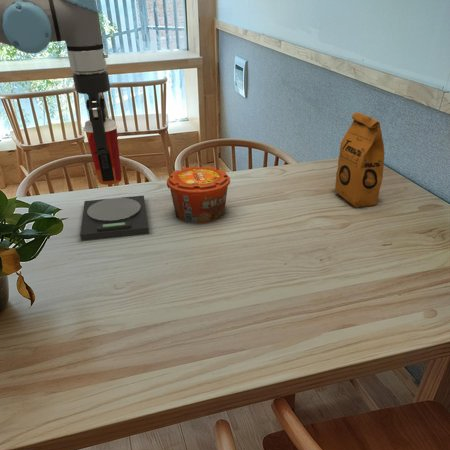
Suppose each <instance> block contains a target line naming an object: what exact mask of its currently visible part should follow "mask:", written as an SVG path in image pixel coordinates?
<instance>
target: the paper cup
mask: <svg viewBox="0 0 450 450" xmlns="http://www.w3.org/2000/svg"><path fill="white" fill-rule="evenodd" d="M104 127H105V133H106V138H107V144H108V150H109V152H110V157H111V163H112V169H113V174H114V181H103V180H102V174H101V169H100V164H99V159H98V155H95V154H94V152H96V145H95V140H94V134H93V129H92V123H91V122H90V119H89V120H86V121H85V122H84V127H83V131H84V132H85V135H86V139H87V142H88V147H89V150H90V154H91V158H92V162H93V166H94V169H95V174H96V177H97V180H98V184H100V185H105V186H110V185H116V184H119V183H120V182H122V169H121V158H120V150H119V139H118V130H117V128H118V124H116V121H115V119H114V120H113V119H111V118H109V117H108V118H107V117H106V122H105V123H104ZM100 149H101V148H100Z"/></svg>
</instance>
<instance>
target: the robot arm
mask: <svg viewBox="0 0 450 450" xmlns="http://www.w3.org/2000/svg"><path fill="white" fill-rule="evenodd" d="M54 42H55V43H57V42H58V43H59V42H65V45H66V52H67V56H68V57H67V58H68V61H69V62H68V63H69V66H70V70H71V71H72V72H73V73H72V80H73V84H74V85H73V86H74V90H75V92H76V93H77V94H80V95H87V96H88V97H87V99H86V102H85V106H86V110H87V112H88V118H89V120H90V122H91V123H92V129H93V134H94V140H95V145H96V152H94V154H95V155H98V159H99V164H100V169H101V174H102V180H103V181H114V174H113V169H112V163H111V157H110V152H109V150H108V144H107V138H106V133H105V127H104V123H105V122H106V118H107V112H106V102H105V98H103V95H102V94H103V93H107V92H108V91H110V90H111V84H110V83H111V82H110V77H109V73H108V72H107V71H106V69H107V67H108V66H107V61H106V59H107V58H109V54H108V52H105V48H104V41H103V34H102V27H101V21H100V13H99V9H98V5H97V0H0V43H1V44H4V45H8V46H10V47H13V48H14V49H16V50H18V51H20V52H22V53H26V54H33V55H34V54H38V53H40V52H42V51H43V50H45V49H47V47H48V46H49V44H50V43H54ZM100 148H101V149H100Z"/></svg>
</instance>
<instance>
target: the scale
mask: <svg viewBox="0 0 450 450" xmlns="http://www.w3.org/2000/svg"><path fill="white" fill-rule="evenodd" d="M79 233H80V234H79V235H80V240H81V242H85V241H95V240H105V239H114V238H123V237H134V236H142V235H149V234H150V230H149V224H148V215H147V208H146V202H145V195H134V196H133V195H132V196H124V197H112V198H103V199H102V198H101V199H92V200H91V199H90V200H84V203H83V209H82V218H81V227H80V232H79Z"/></svg>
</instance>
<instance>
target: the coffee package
mask: <svg viewBox="0 0 450 450" xmlns="http://www.w3.org/2000/svg"><path fill="white" fill-rule="evenodd" d="M351 119H352V120H353V121H352V122H351V124H350V126H349V128H348V130H347V131H346V133H345V134H344V136H343V138H342V140H341V142H340V145H339V155H338V161H337V169H336V172H335V187H334V193H336V194H338V195H339V196H340V197H342V199H344V200H345V201H346V202H347V203H349V204H350V205H352V206H353V207H354V208H359V207H371V206H377V204H378V202H379V201H378V200H379V196H380V189H381V186H382V182H383V179H384V178H383V177H384V167H385V165H384V164H385V143H384V139H383V133H382V129H381V123H380V121H379V120H376V119H374V118H373V117H371V116H369V115H366V114H364V113H360V112H357V111H355V112H354V113H353V114H352V116H351Z"/></svg>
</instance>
